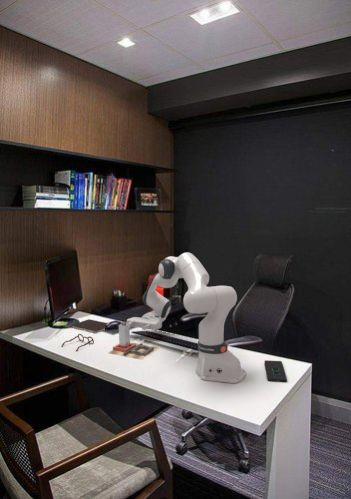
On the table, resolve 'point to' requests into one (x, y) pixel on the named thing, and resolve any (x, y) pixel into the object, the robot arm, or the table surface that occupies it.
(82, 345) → the glasses
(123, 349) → the socket
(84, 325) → the hardcover book
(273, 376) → the smart home device
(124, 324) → the lock bolt
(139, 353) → the flat brown board
